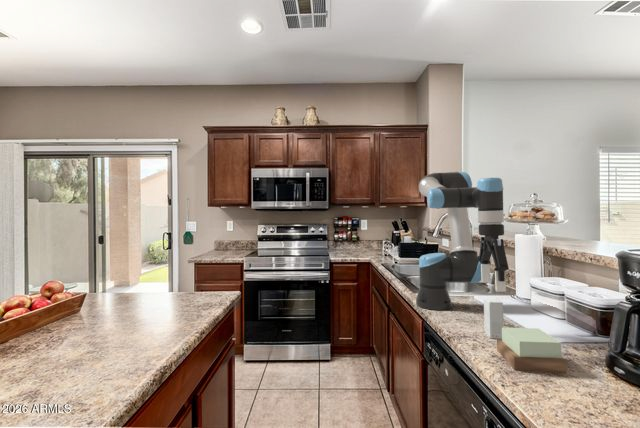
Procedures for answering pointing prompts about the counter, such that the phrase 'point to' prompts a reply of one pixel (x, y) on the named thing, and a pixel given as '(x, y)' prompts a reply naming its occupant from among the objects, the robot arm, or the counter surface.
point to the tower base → (531, 361)
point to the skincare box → (493, 317)
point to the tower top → (531, 342)
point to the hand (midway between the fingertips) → (492, 286)
